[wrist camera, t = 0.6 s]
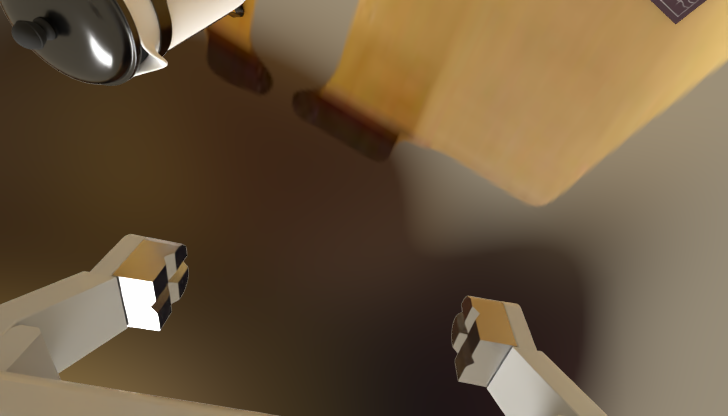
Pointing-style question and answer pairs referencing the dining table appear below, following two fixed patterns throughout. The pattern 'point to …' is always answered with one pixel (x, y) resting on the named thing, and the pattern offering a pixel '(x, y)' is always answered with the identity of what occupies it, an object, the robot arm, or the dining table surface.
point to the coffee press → (110, 33)
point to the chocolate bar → (677, 8)
